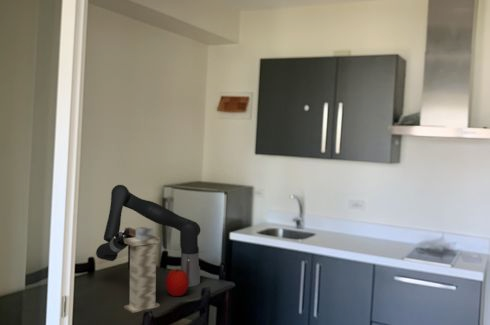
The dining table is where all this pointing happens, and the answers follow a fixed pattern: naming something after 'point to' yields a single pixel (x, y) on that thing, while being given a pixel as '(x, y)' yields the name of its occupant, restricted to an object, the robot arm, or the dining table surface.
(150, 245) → the birch plinth
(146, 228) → the mallet
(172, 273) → the tomato
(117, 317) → the dining table surface
